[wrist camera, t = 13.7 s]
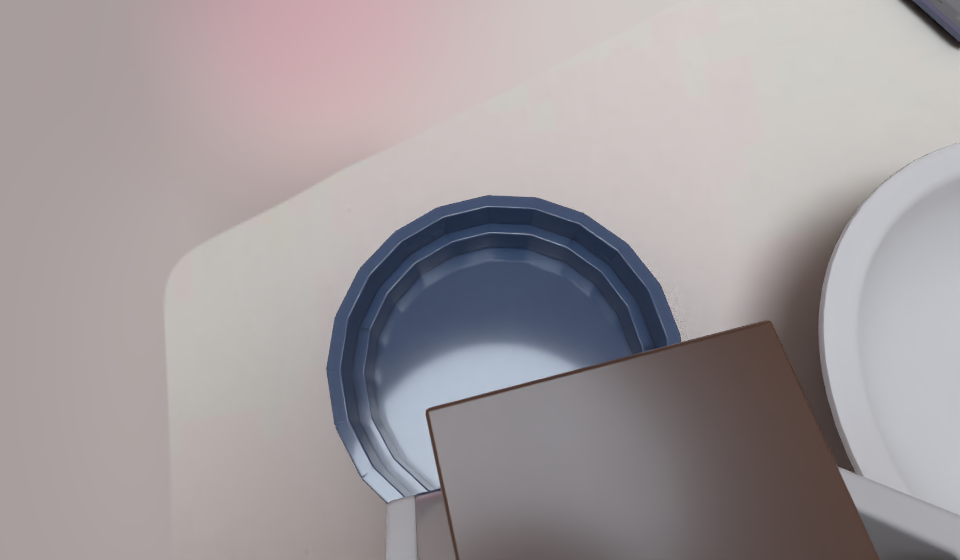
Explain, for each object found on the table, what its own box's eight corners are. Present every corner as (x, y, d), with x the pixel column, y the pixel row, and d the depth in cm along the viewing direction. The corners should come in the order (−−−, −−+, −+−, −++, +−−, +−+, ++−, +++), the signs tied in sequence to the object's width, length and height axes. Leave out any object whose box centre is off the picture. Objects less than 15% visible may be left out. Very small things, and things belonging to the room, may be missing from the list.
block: (506, 590, 14) (523, 890, 4) (471, 439, 15) (423, 408, 6) (648, 550, 14) (970, 751, 4) (601, 404, 15) (771, 318, 6)
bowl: (383, 573, 25) (360, 597, 21) (332, 269, 30) (305, 238, 26) (701, 485, 26) (742, 491, 21) (597, 204, 31) (613, 164, 27)
